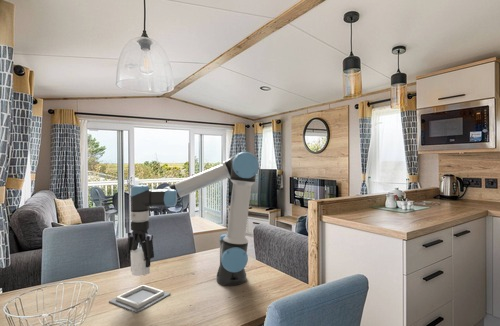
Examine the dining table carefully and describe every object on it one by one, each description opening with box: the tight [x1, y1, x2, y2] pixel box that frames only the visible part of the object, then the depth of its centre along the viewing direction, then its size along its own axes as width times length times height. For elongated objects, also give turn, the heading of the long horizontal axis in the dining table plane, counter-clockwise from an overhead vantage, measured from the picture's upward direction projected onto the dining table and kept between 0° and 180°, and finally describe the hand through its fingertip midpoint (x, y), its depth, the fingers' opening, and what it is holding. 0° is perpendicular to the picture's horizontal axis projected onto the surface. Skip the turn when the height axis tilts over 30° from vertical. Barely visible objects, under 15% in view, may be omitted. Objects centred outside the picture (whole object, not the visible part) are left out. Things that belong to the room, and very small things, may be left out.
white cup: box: [130, 247, 145, 277], centre depth 123 cm, size 8×8×10 cm
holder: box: [108, 284, 172, 314], centre depth 123 cm, size 18×18×2 cm
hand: (140, 272), depth 123 cm, fingers closed on white cup, 7 cm apart
